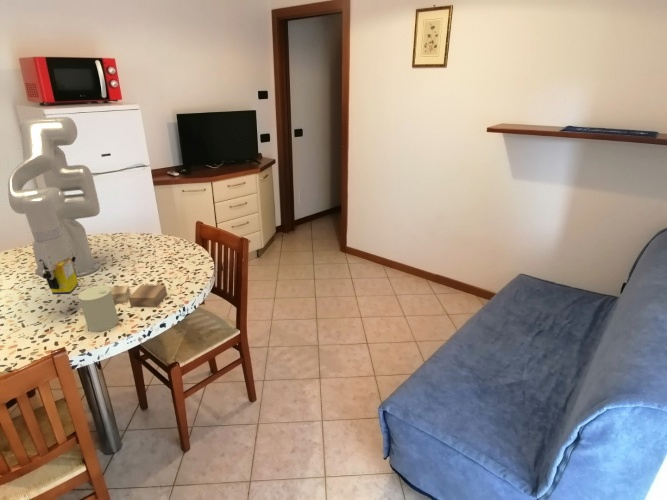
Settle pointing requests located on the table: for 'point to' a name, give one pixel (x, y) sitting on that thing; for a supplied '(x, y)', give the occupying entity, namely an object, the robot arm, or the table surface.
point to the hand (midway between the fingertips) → (63, 282)
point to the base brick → (148, 296)
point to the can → (98, 308)
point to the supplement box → (65, 278)
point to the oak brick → (120, 294)
